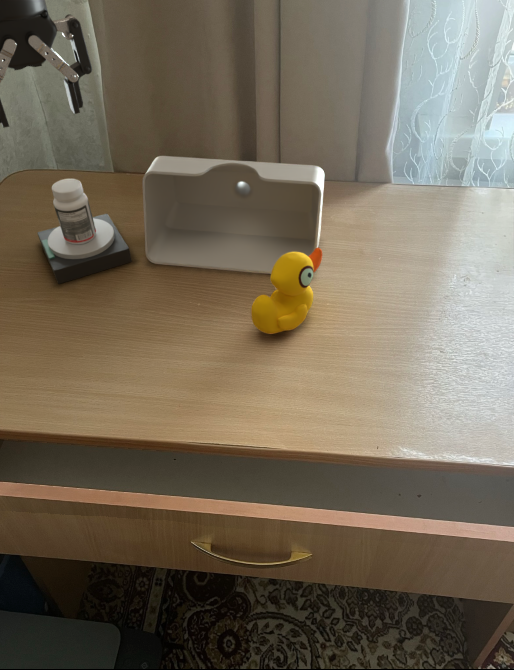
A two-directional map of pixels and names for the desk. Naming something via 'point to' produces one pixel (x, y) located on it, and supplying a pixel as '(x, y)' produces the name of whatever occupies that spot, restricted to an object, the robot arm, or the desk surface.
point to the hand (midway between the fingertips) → (41, 118)
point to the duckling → (287, 293)
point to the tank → (230, 212)
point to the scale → (85, 251)
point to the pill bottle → (73, 211)
